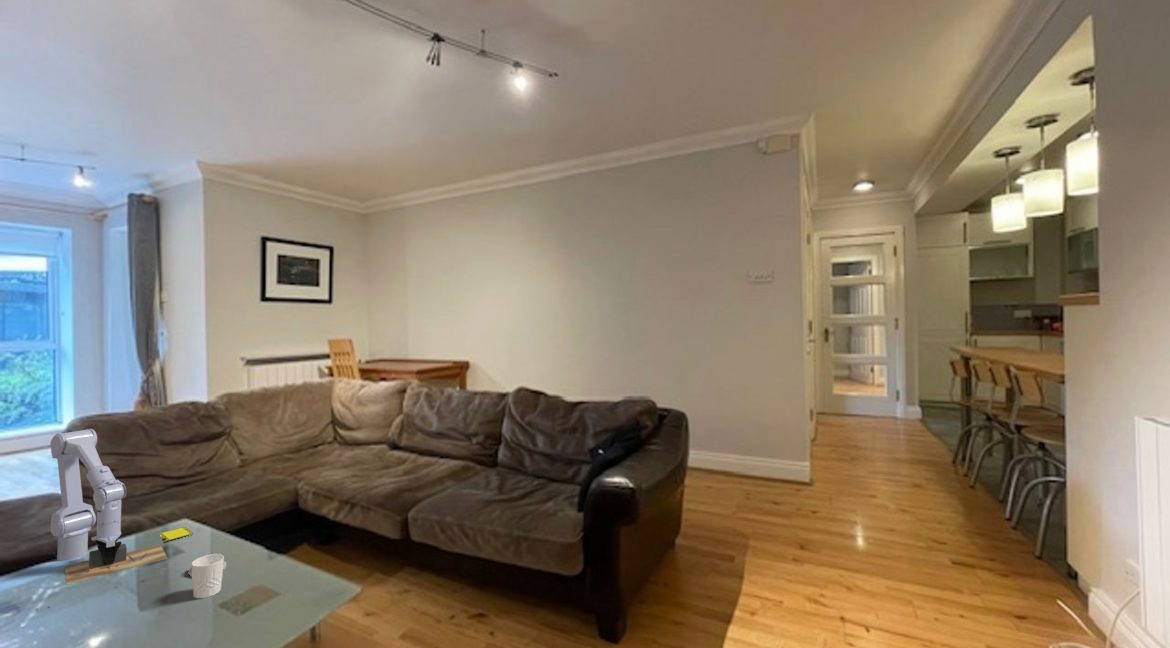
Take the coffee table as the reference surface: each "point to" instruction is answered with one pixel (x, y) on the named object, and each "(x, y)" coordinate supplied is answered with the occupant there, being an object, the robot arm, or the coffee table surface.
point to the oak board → (133, 560)
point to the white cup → (207, 575)
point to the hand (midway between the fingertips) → (107, 561)
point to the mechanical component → (206, 555)
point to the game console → (174, 534)
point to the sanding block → (97, 559)
